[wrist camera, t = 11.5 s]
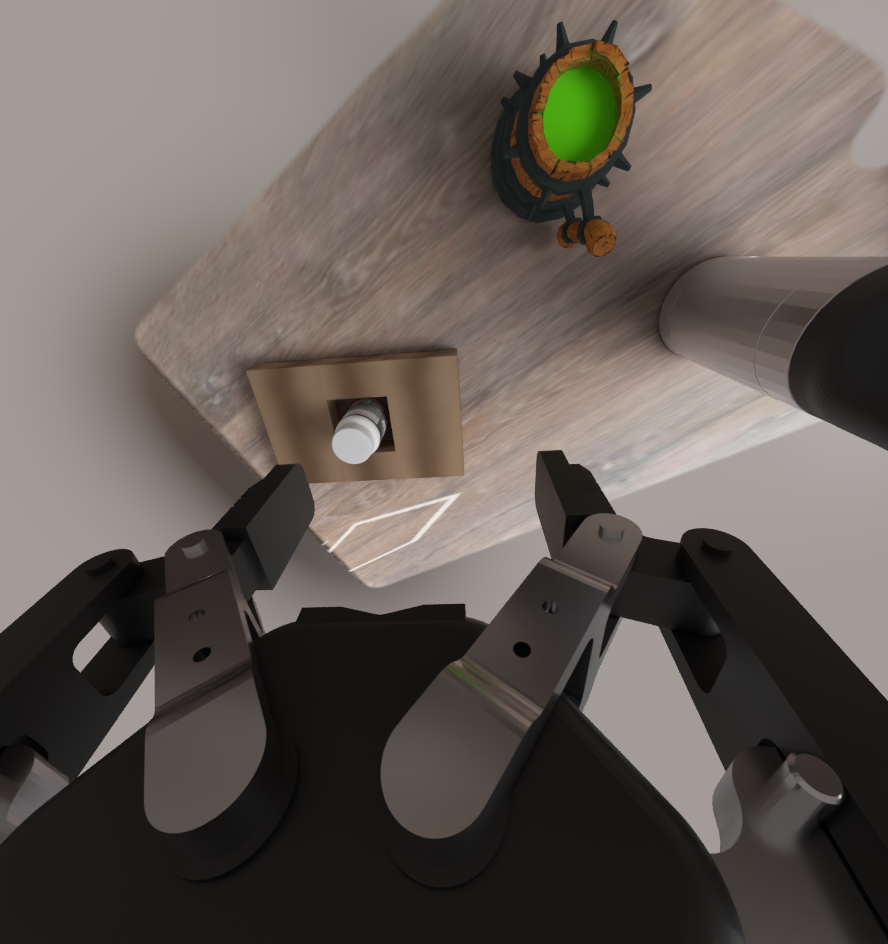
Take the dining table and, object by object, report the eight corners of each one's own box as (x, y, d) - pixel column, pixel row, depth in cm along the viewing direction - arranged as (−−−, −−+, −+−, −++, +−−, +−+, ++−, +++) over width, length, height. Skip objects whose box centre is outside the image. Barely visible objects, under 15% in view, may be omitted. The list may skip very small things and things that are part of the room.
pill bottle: (379, 440, 46) (364, 475, 38) (343, 423, 45) (321, 455, 37) (396, 408, 43) (383, 439, 36) (358, 389, 42) (337, 417, 35)
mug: (471, 107, 30) (477, 34, 20) (599, 42, 28) (677, -76, 18) (512, 277, 36) (533, 285, 26) (621, 233, 34) (688, 224, 24)
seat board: (457, 348, 40) (456, 355, 37) (463, 463, 47) (464, 475, 44) (259, 363, 41) (246, 370, 39) (294, 472, 48) (285, 484, 46)
